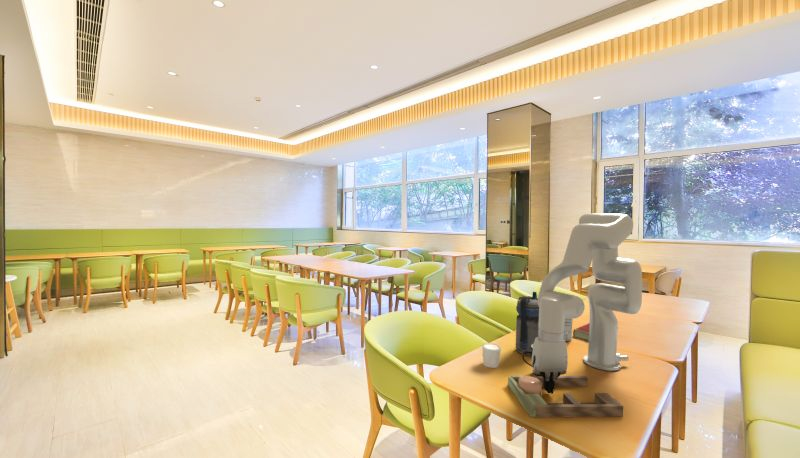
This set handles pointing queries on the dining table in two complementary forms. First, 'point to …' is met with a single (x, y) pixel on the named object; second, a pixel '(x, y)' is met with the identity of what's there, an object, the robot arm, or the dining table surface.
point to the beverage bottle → (527, 323)
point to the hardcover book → (582, 332)
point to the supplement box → (568, 329)
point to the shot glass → (491, 355)
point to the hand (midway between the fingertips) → (548, 391)
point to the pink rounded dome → (530, 385)
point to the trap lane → (566, 400)
